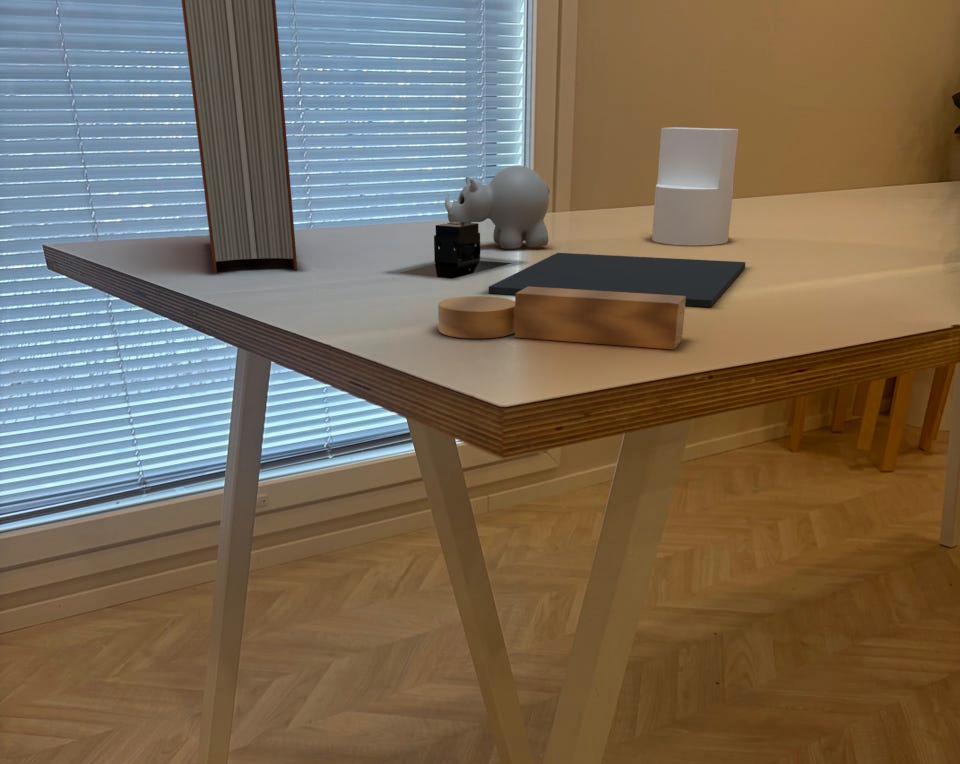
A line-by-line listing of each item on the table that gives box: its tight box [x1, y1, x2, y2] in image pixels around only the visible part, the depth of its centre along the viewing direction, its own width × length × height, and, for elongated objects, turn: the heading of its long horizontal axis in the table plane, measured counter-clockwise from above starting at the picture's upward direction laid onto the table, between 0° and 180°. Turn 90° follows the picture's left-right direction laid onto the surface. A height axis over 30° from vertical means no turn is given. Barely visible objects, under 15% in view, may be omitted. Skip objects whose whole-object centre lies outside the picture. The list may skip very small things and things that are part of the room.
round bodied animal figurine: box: [444, 165, 550, 250], centre depth 116 cm, size 7×12×8 cm, turn 100°
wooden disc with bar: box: [437, 286, 686, 351], centre depth 76 cm, size 18×6×3 cm, turn 70°
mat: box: [488, 252, 746, 308], centre depth 99 cm, size 20×22×1 cm
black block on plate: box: [398, 222, 512, 280], centre depth 105 cm, size 12×7×5 cm, turn 147°
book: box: [181, 0, 298, 275], centre depth 106 cm, size 23×8×30 cm, turn 14°
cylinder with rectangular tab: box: [651, 126, 739, 246], centre depth 120 cm, size 9×9×12 cm
